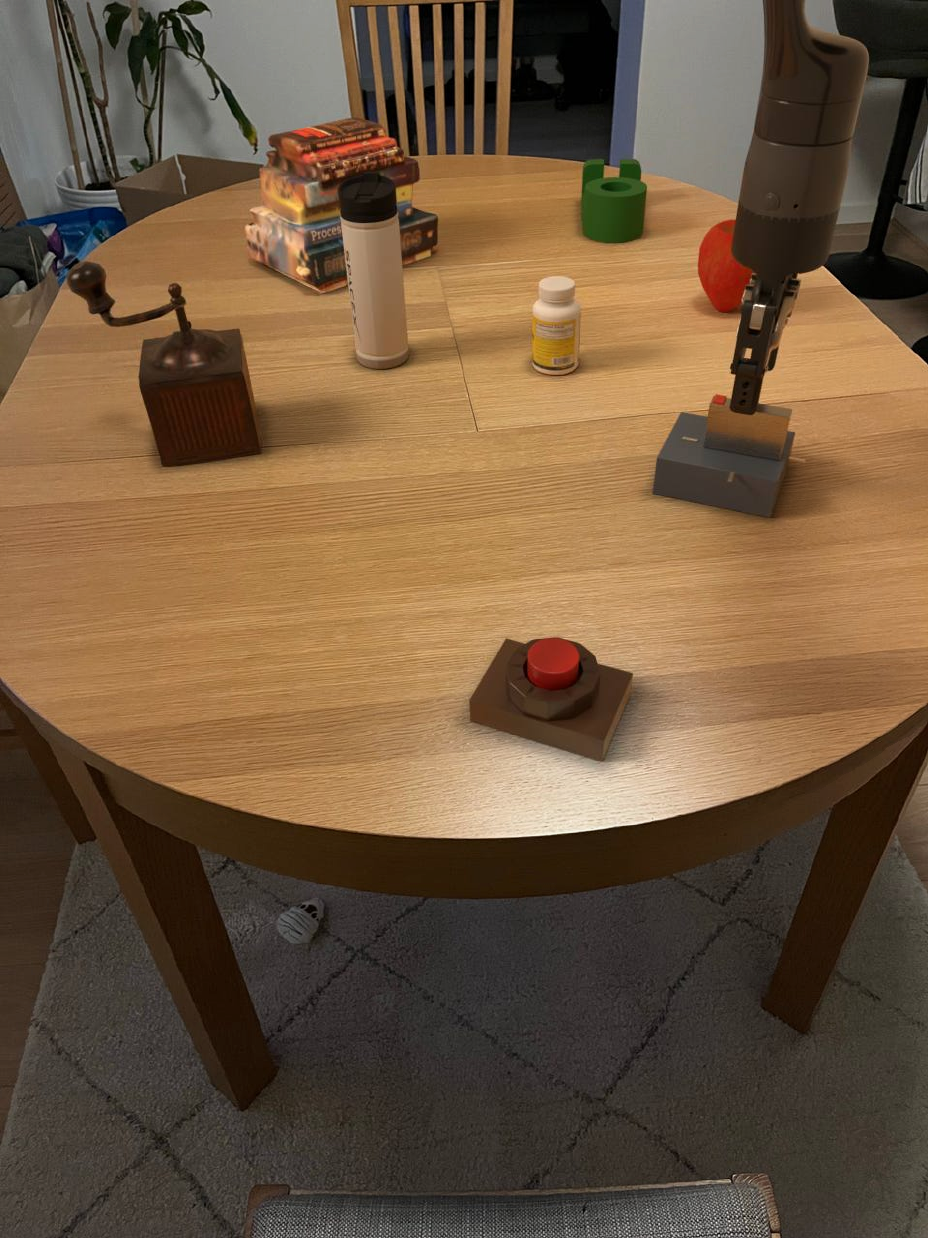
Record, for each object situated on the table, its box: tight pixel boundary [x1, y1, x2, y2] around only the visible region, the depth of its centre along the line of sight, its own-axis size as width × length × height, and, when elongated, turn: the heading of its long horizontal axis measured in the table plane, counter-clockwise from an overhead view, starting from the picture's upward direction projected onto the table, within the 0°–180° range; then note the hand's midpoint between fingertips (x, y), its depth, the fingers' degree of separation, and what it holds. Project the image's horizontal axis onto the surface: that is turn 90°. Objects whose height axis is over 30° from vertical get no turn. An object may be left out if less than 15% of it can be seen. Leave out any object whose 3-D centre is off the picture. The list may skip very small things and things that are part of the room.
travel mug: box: [338, 172, 410, 370], centre depth 105 cm, size 6×7×20 cm
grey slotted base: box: [652, 411, 806, 519], centre depth 88 cm, size 13×11×4 cm
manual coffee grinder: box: [65, 260, 263, 467], centre depth 93 cm, size 16×11×18 cm
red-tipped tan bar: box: [703, 393, 793, 461], centre depth 84 cm, size 7×2×5 cm, turn 66°
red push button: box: [527, 637, 579, 691], centre depth 65 cm, size 4×4×2 cm
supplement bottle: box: [531, 275, 582, 376], centre depth 105 cm, size 5×5×10 cm
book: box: [244, 116, 439, 294], centre depth 130 cm, size 23×18×17 cm
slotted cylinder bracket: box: [580, 158, 648, 244], centre depth 141 cm, size 18×9×6 cm, turn 176°
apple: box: [697, 219, 755, 313], centre depth 115 cm, size 9×8×11 cm
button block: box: [468, 636, 634, 762], centre depth 67 cm, size 10×7×4 cm
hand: (752, 389), depth 82 cm, fingers open, 8 cm apart
